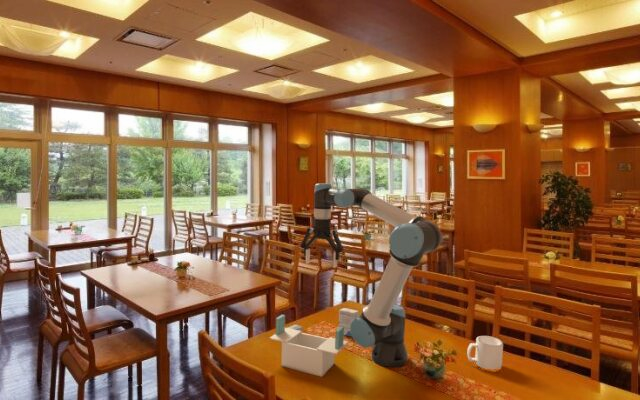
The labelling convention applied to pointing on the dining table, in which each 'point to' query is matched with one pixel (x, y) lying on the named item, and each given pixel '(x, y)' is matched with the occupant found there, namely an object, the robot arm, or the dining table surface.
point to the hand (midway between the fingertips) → (321, 265)
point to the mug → (487, 352)
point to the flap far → (283, 331)
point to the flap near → (334, 343)
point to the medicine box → (296, 327)
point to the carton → (306, 355)
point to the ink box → (347, 319)
